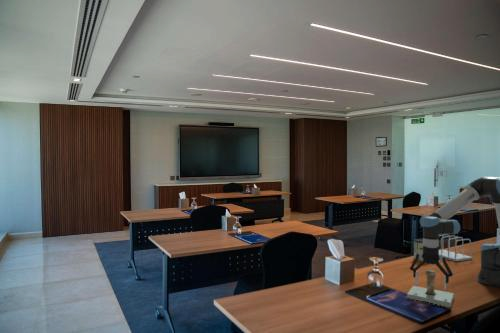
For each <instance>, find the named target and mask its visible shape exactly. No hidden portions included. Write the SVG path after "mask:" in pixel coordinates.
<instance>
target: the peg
mask: <svg viewBox="0 0 500 333" xmlns="http://www.w3.org/2000/svg"><path fill="white" fill-rule="evenodd" d="M436 274H437V273H436V270H432V269H426V270H425V277H426V288H427V295H432V296H434V290H435V278H436Z"/></svg>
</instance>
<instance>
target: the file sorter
mask: <svg viewBox="0 0 500 333" xmlns="http://www.w3.org/2000/svg"><path fill="white" fill-rule="evenodd" d="M439 237H441V238H440V249H439V257H446V260H448V261H453V262H462V261H463V262H464V261H471V260H473V256H472V241H471V239H470V238H463V237H462V236H457V237H456V235H455V234H452V235H450V234H445V235H439ZM445 238H448V240H447V241H448V242H447V250H446V249H444V248H443V240H444V239H445ZM451 240H455V241H454V251H451ZM460 241H462V242H461V244H462V253H458V252H457V250H458V248H457V243H458V242H460ZM464 241H469V255H466V254H465V253H464V251H465V250H464Z"/></svg>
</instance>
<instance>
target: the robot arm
mask: <svg viewBox="0 0 500 333" xmlns="http://www.w3.org/2000/svg"><path fill="white" fill-rule="evenodd" d="M484 197H485V198H486V197H489V198H490V203H492V204H493V206H494V208H495V214H496V221H497V224H498V225H497V226H498V230H499V232H500V176H488V175H487V176H486V175H485V176H482V177H479V178H477V179H474V180H473V181H471V182H470V183H468V184H467V185H466V186H464V187H463V190H462V191H460V192H459V193H458V194H456V195H455V196H454V197H452V198H451V199H450V200H448V201H447V202H445V204H443V205H441V206H440V207H439V208H438V209H436V210H434V212H432V213H430V214H429V215H428V214H426V215H422V216H421V217H420V219H419V224H420V226H421V227H422V239H423V245H424V246H423V255H422V254H419V253H417V254H416V259H414V261H412V263H411V265H410V267H409V270H410V271H413V272H412V274H413V278H414V280H415V281H414V282H415V285H418V283H419V271H418V270H419V269H420V268H421V267H422V266H423V265H424V264H425V263H426V264H428V265H435V266H436V267H437V268H438V269H439V270H440V272H442V273H443V275H444V277H443V289H444V290H445V291H446V289H447V284H449V282H450V277H453V276H454V275H453V274H454V273H453V272H452V270H451V268H450V266H449V264H448V261H447V259H446V257H439V250H440V247H439V246H440V236H439V235H444V236H446V235H445V234H448V235H456V234H457V235H458V234H459V232H460V231H461V224H460V223H459V221H458V220H456V219H450V218H452V217H453V216H454V215H456V214H457V213H459V212H460V211H462V209H465V207H467V206H468V205H469V204H471V203H472V202H473V201H477V200H479V199H481V198H484ZM420 257H422V258H423V259H424V260H423V261H421V262H420V263H419V264H418V265H417V266H416V267H415V265H416V264H417V263H418V261H419V260H418V259H419V258H420ZM439 261H441V262H442V263H443V265H444V267H445V268H444V267H443V266H442V265H441V262H439ZM476 279H477V282H479V283H481V284H482V285H483V284H484V285H486V286H491V287H500V243H483V244H481V247H480V270H479V272H478V275H477V278H476Z"/></svg>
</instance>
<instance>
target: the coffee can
mask: <svg viewBox="0 0 500 333" xmlns="http://www.w3.org/2000/svg"><path fill="white" fill-rule="evenodd" d="M423 246H424V245H423V238H414V239H413V259H414V260H415V259H416V254H417V253H419V254H422V255H423ZM423 260H424V259H423V258H422V257H420V258H419V259H418V261H419V262H420V261H421V262H422V261H423Z"/></svg>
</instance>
